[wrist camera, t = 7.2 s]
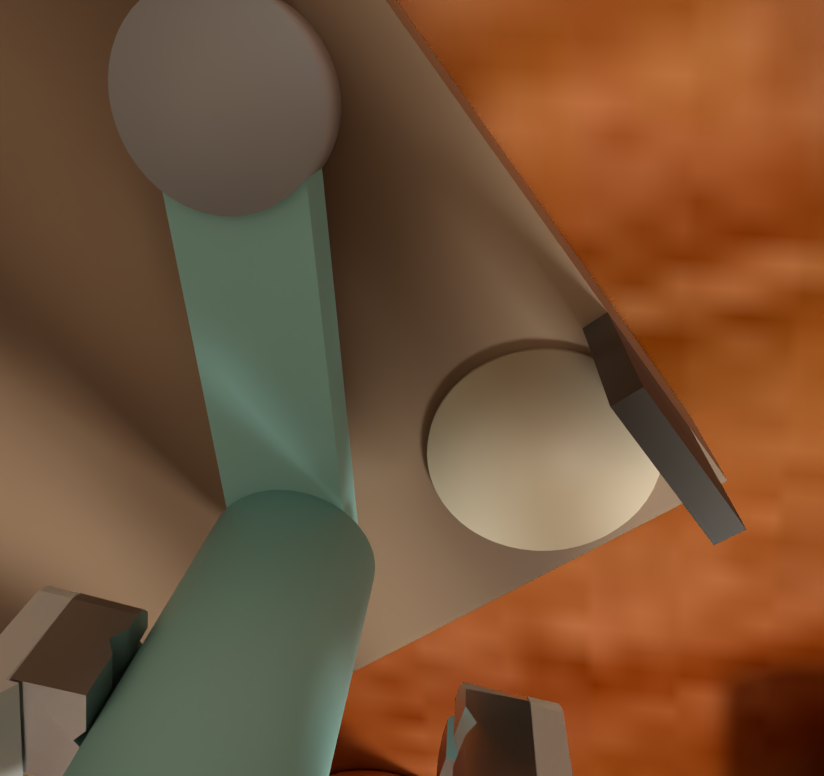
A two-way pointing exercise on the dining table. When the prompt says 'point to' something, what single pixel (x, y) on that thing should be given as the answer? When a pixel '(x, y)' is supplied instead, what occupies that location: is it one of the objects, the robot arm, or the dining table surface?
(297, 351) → the folding leg
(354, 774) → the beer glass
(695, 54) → the dining table surface
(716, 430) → the dining table surface
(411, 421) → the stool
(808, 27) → the dining table surface
